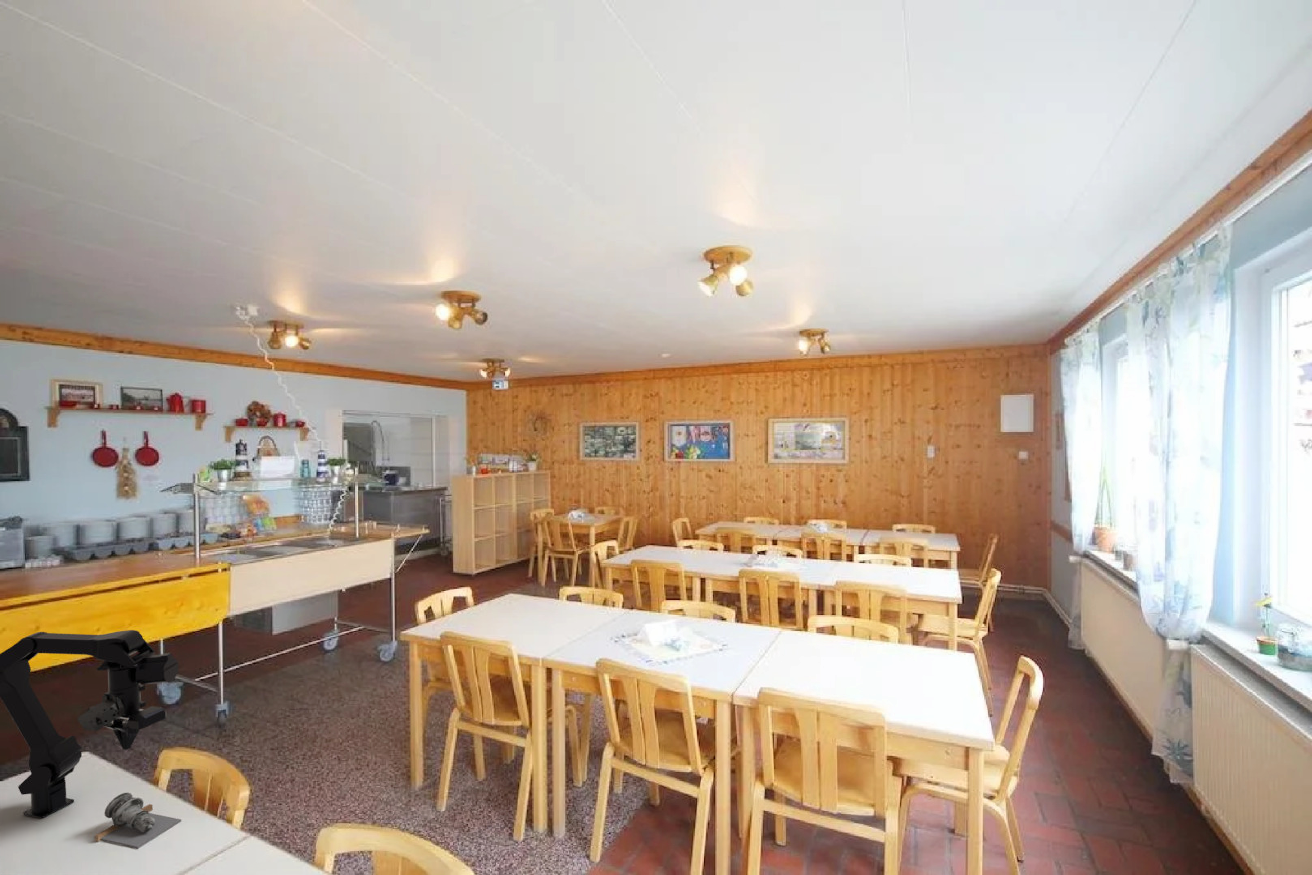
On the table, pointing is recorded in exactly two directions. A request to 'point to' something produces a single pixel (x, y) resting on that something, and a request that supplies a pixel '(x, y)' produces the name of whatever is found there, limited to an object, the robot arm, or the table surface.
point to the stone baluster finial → (129, 812)
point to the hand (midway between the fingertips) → (126, 748)
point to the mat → (138, 838)
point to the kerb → (113, 827)
